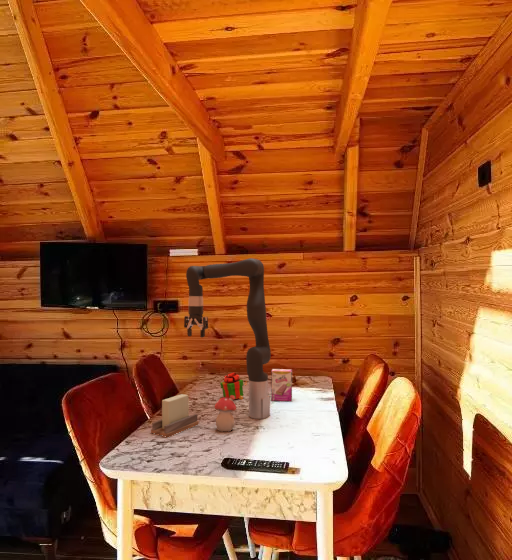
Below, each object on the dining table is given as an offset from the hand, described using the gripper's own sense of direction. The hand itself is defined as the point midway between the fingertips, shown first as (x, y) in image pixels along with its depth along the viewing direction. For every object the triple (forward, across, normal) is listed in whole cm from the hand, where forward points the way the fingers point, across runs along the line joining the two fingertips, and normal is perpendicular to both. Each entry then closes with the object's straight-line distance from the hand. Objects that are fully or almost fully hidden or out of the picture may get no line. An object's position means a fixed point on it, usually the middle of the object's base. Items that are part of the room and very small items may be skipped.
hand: (196, 336), depth 211 cm
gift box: (+36, -7, -23) cm, 44 cm away
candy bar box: (+36, -30, -35) cm, 59 cm away
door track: (+36, -13, +28) cm, 47 cm away
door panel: (+35, -13, +28) cm, 46 cm away
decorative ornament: (+36, -32, +17) cm, 51 cm away
